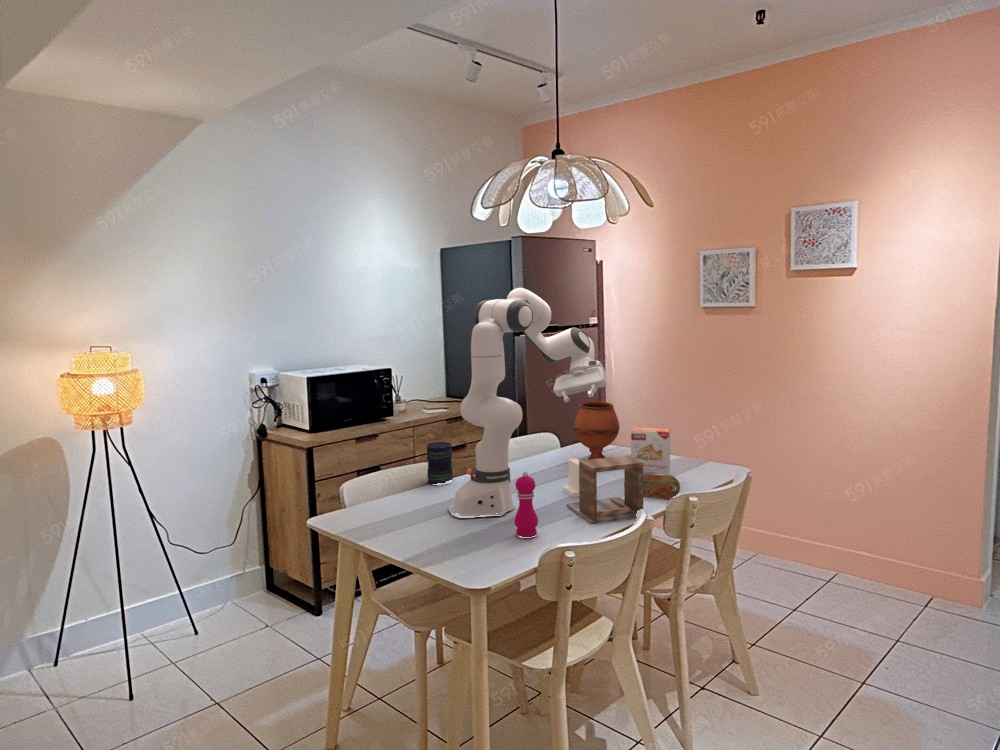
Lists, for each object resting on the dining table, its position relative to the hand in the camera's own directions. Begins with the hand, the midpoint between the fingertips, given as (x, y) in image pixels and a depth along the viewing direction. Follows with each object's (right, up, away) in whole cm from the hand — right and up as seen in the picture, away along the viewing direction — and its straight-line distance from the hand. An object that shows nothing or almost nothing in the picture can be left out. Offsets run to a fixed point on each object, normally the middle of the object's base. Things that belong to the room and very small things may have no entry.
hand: (578, 398), depth 249 cm
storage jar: (-52, -33, +18) cm, 64 cm away
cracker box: (+28, -33, +10) cm, 44 cm away
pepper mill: (-21, -40, -41) cm, 61 cm away
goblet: (+13, -29, +42) cm, 53 cm away
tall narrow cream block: (0, -34, +1) cm, 34 cm away
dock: (+6, -37, -20) cm, 42 cm away
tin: (+27, -35, -7) cm, 45 cm away
